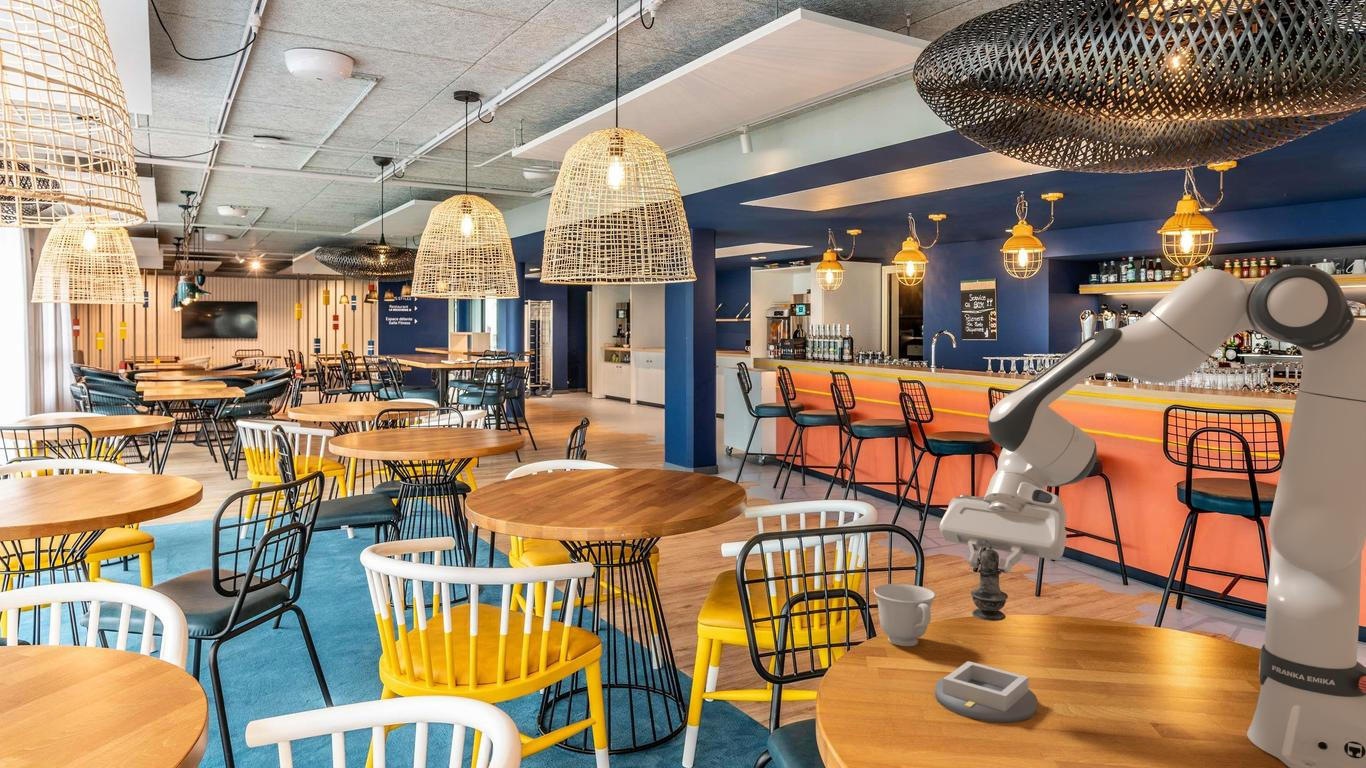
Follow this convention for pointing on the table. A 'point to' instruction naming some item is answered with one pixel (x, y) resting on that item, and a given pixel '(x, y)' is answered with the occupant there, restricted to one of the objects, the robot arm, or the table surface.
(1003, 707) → the socket stand
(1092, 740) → the table surface
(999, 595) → the dark grey tapered piece
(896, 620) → the teacup
